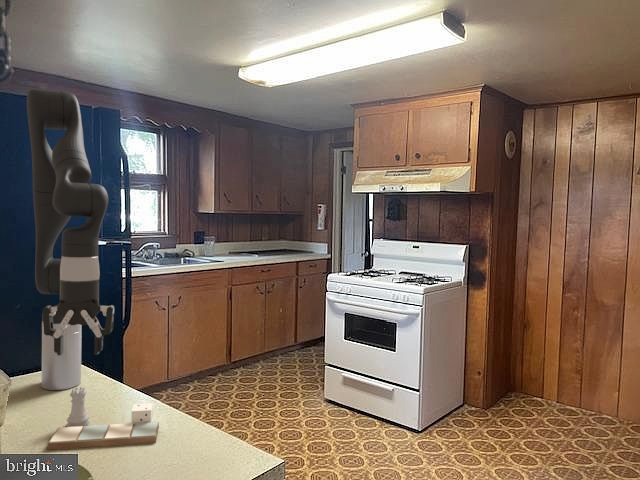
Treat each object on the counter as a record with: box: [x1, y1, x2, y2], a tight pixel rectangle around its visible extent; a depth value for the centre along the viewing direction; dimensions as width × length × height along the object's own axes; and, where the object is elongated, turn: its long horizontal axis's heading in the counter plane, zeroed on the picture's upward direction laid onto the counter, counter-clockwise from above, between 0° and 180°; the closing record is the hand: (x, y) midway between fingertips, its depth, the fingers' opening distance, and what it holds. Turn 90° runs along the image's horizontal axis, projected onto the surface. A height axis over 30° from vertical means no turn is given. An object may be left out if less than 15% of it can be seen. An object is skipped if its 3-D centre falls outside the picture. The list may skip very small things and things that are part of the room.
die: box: [130, 402, 154, 424], centre depth 108 cm, size 4×4×4 cm
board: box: [47, 421, 160, 450], centre depth 101 cm, size 7×20×1 cm, turn 103°
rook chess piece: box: [65, 386, 90, 427], centre depth 106 cm, size 4×4×8 cm
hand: (78, 353), depth 106 cm, fingers open, 6 cm apart
